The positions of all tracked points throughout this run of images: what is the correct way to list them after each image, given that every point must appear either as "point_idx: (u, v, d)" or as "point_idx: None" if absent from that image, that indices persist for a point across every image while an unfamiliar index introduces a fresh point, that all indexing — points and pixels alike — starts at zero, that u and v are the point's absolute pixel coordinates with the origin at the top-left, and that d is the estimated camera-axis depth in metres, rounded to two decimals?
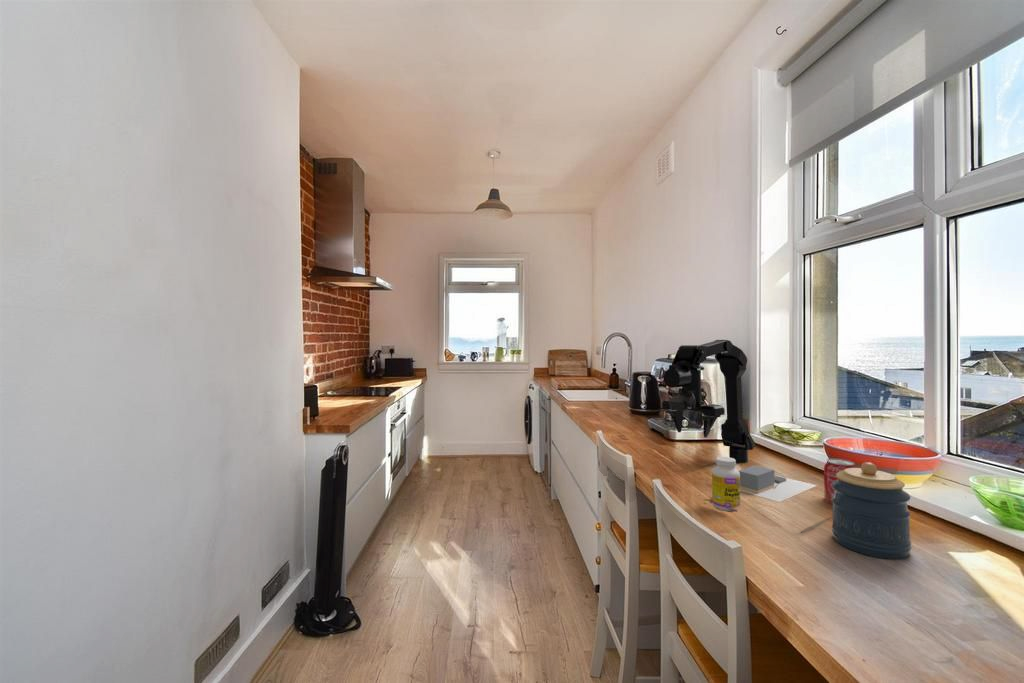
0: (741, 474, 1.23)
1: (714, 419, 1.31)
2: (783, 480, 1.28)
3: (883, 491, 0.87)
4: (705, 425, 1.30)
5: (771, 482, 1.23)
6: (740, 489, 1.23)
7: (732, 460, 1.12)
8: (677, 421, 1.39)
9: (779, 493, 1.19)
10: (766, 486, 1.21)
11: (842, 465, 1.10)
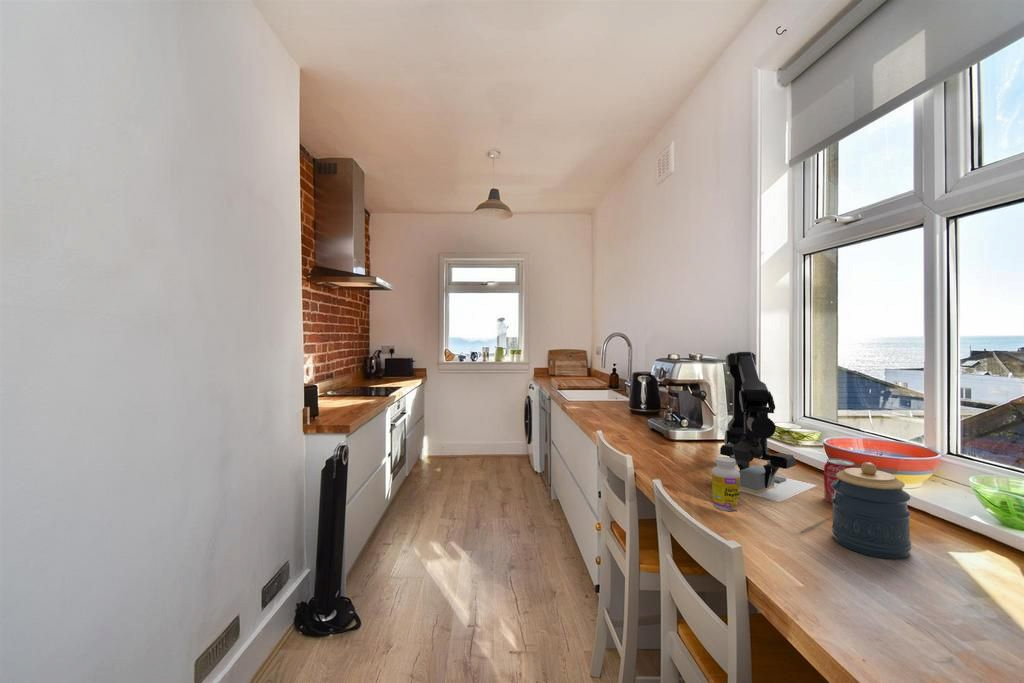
0: (741, 474, 1.23)
1: (776, 468, 1.21)
2: (783, 480, 1.28)
3: (883, 491, 0.87)
4: (767, 475, 1.20)
5: (771, 482, 1.23)
6: (740, 489, 1.23)
7: (732, 460, 1.12)
8: None
9: (779, 493, 1.19)
10: None
11: (842, 465, 1.10)
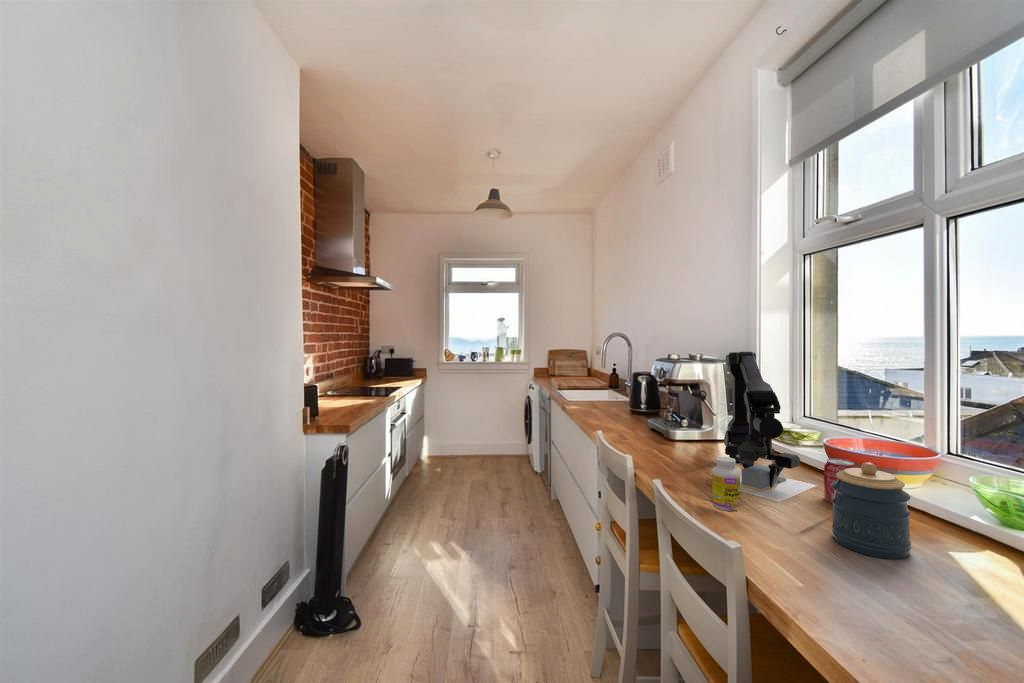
0: (744, 473, 1.24)
1: (781, 468, 1.22)
2: (783, 480, 1.28)
3: (883, 491, 0.87)
4: (772, 475, 1.21)
5: None
6: (740, 489, 1.23)
7: (732, 460, 1.12)
8: None
9: (779, 493, 1.19)
10: (769, 485, 1.23)
11: (842, 465, 1.10)
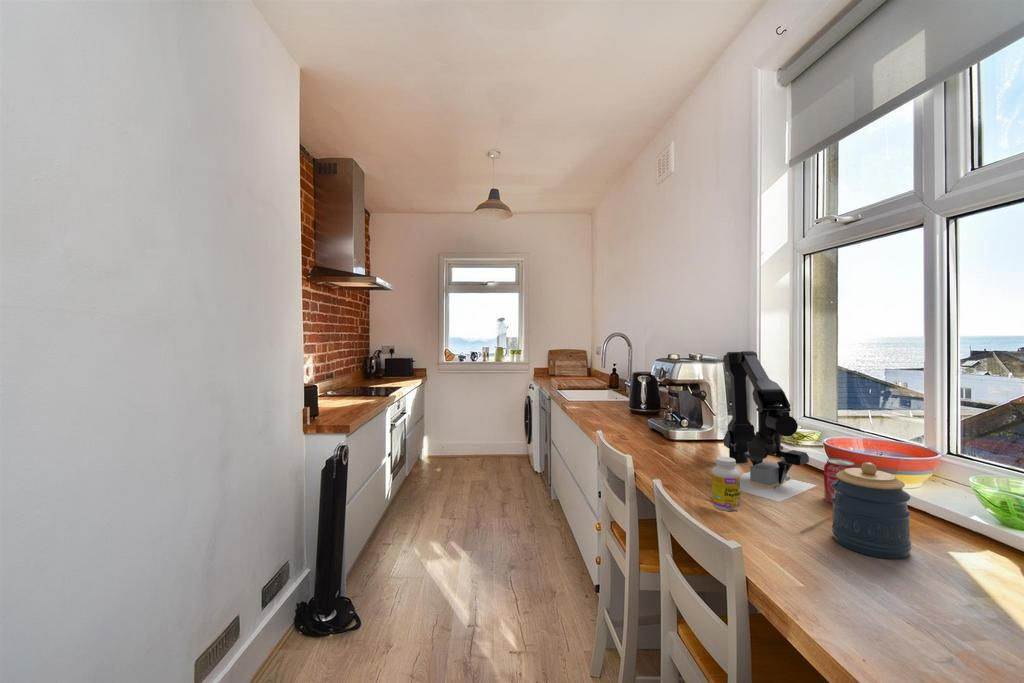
0: (753, 470, 1.26)
1: (790, 465, 1.25)
2: (787, 479, 1.29)
3: (883, 491, 0.87)
4: (781, 471, 1.24)
5: None
6: (740, 489, 1.23)
7: (732, 460, 1.12)
8: None
9: (779, 493, 1.19)
10: (778, 481, 1.25)
11: (842, 465, 1.10)
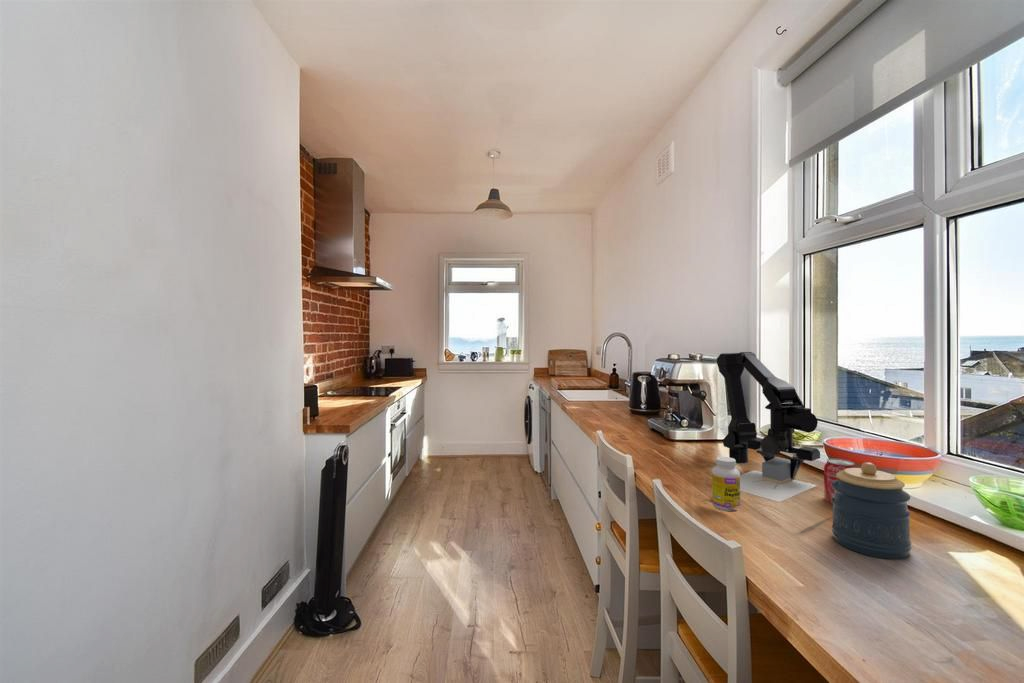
0: (765, 466, 1.30)
1: (801, 461, 1.29)
2: None
3: (883, 491, 0.87)
4: (793, 467, 1.28)
5: None
6: (740, 489, 1.23)
7: (732, 460, 1.12)
8: None
9: (779, 493, 1.19)
10: (789, 476, 1.29)
11: (842, 465, 1.10)
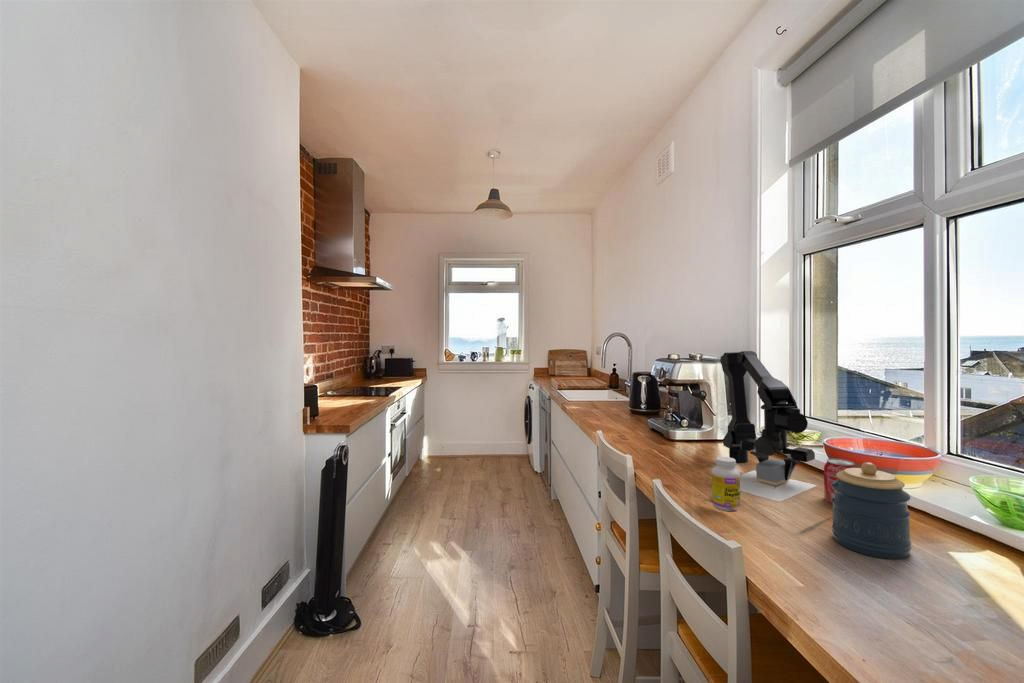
0: (759, 467, 1.28)
1: (796, 462, 1.27)
2: None
3: (883, 491, 0.87)
4: (787, 468, 1.26)
5: None
6: (740, 489, 1.23)
7: (732, 460, 1.12)
8: None
9: (779, 493, 1.19)
10: (784, 478, 1.27)
11: (842, 465, 1.10)
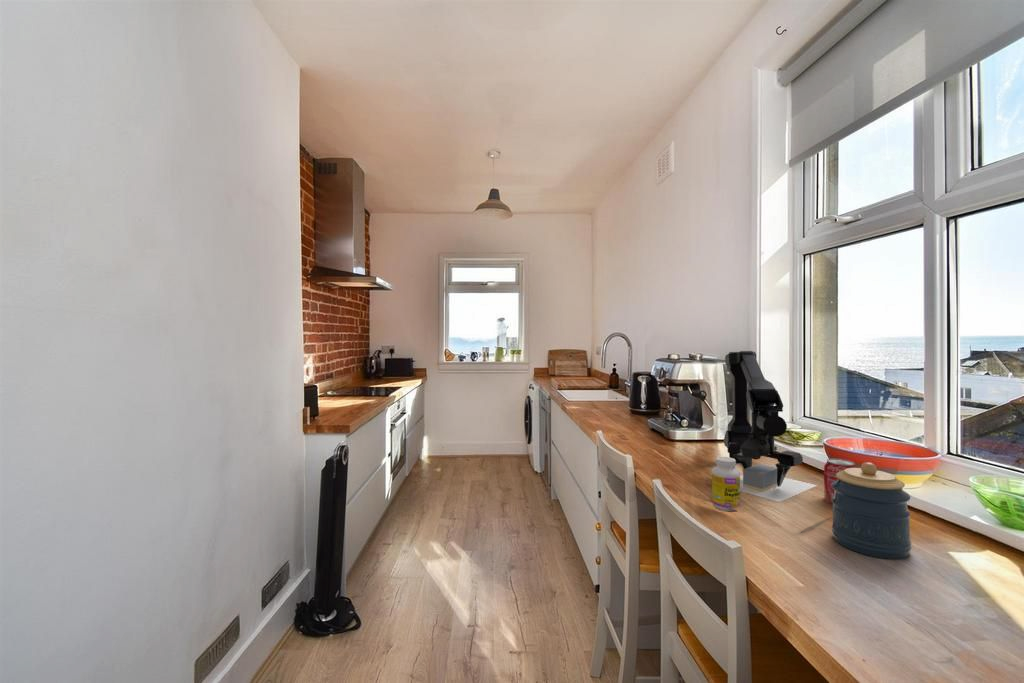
0: (746, 472, 1.24)
1: (788, 467, 1.22)
2: None
3: (883, 491, 0.87)
4: (779, 474, 1.21)
5: (776, 480, 1.24)
6: (740, 489, 1.23)
7: (732, 460, 1.12)
8: (747, 467, 1.29)
9: (779, 493, 1.19)
10: (771, 484, 1.23)
11: (842, 465, 1.10)
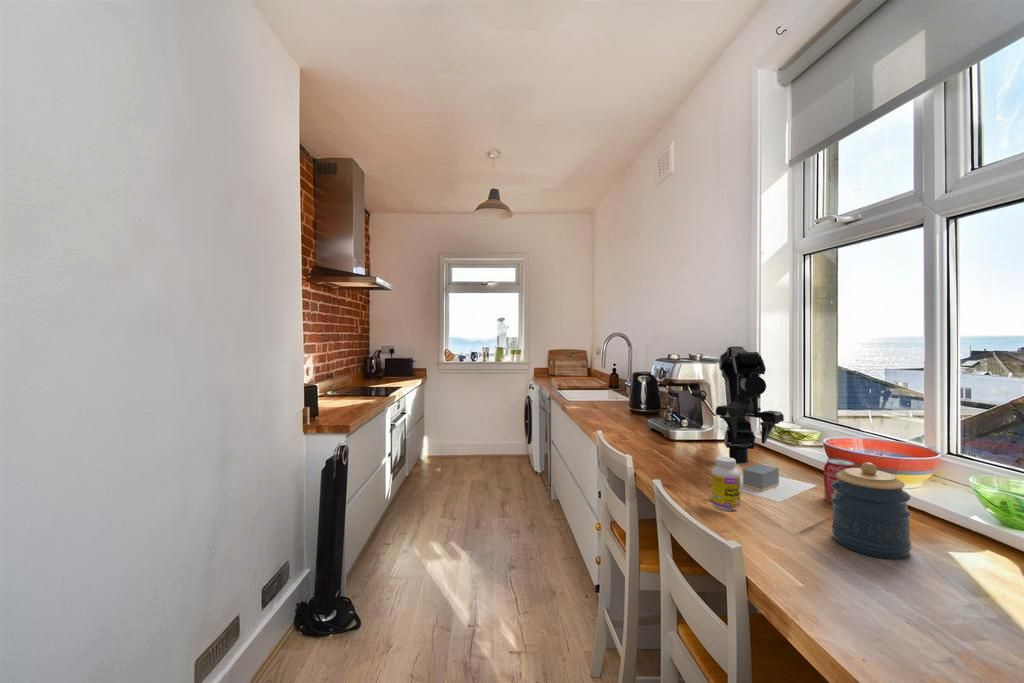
0: (746, 472, 1.24)
1: (772, 425, 1.32)
2: None
3: (883, 491, 0.87)
4: (764, 431, 1.31)
5: (776, 480, 1.24)
6: (740, 489, 1.23)
7: (732, 460, 1.12)
8: (732, 427, 1.40)
9: (779, 493, 1.19)
10: (771, 484, 1.23)
11: (842, 465, 1.10)
